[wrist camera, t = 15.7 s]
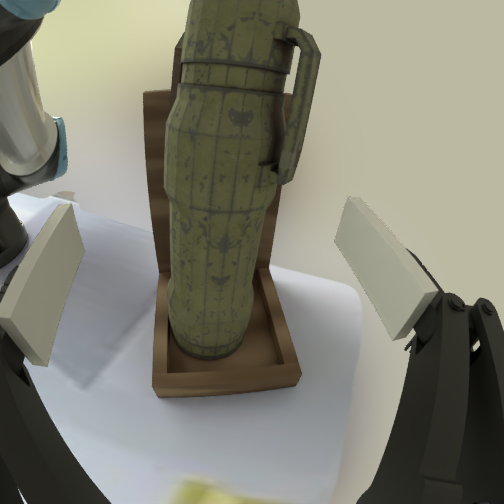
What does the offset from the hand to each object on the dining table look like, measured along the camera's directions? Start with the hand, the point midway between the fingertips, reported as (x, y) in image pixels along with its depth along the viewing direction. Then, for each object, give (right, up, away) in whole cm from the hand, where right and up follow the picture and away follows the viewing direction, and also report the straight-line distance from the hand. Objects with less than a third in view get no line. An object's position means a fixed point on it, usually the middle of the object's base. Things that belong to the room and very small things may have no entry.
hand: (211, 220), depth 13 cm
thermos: (-3, -11, +20) cm, 23 cm away
